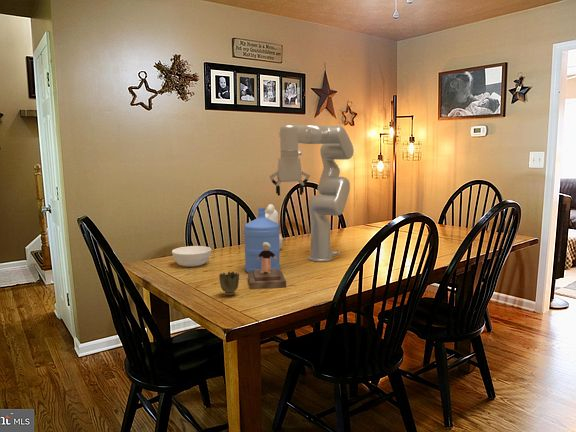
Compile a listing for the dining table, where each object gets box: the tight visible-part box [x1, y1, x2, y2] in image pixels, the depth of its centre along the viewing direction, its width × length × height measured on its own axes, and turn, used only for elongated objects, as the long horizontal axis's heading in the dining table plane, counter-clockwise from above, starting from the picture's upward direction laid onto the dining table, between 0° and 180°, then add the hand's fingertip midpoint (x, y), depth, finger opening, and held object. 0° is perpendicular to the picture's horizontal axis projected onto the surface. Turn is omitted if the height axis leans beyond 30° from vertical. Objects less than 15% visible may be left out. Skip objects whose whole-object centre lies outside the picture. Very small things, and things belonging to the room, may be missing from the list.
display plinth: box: [247, 269, 287, 290], centre depth 185 cm, size 14×16×4 cm
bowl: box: [171, 245, 212, 268], centre depth 216 cm, size 18×18×7 cm
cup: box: [218, 271, 240, 297], centre depth 169 cm, size 8×7×8 cm
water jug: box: [243, 207, 281, 273], centre depth 202 cm, size 16×16×28 cm
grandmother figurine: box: [257, 242, 276, 274], centre depth 184 cm, size 8×4×13 cm, turn 94°
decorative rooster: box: [265, 203, 284, 249], centre depth 241 cm, size 25×16×25 cm, turn 158°
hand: (289, 195), depth 196 cm, fingers open, 9 cm apart
